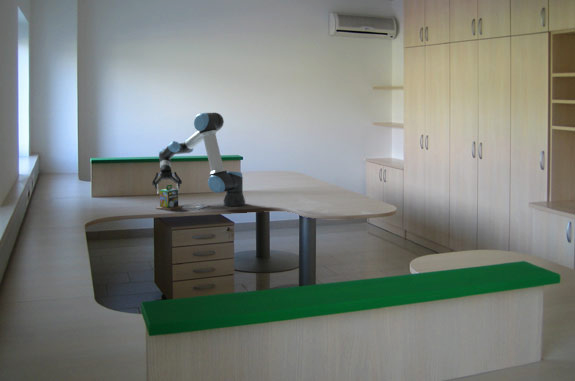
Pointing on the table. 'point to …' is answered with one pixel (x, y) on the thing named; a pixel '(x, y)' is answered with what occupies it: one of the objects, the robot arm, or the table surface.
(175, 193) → the chalk box
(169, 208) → the walnut board
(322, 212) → the table surface
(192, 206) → the plate
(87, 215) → the table surface
